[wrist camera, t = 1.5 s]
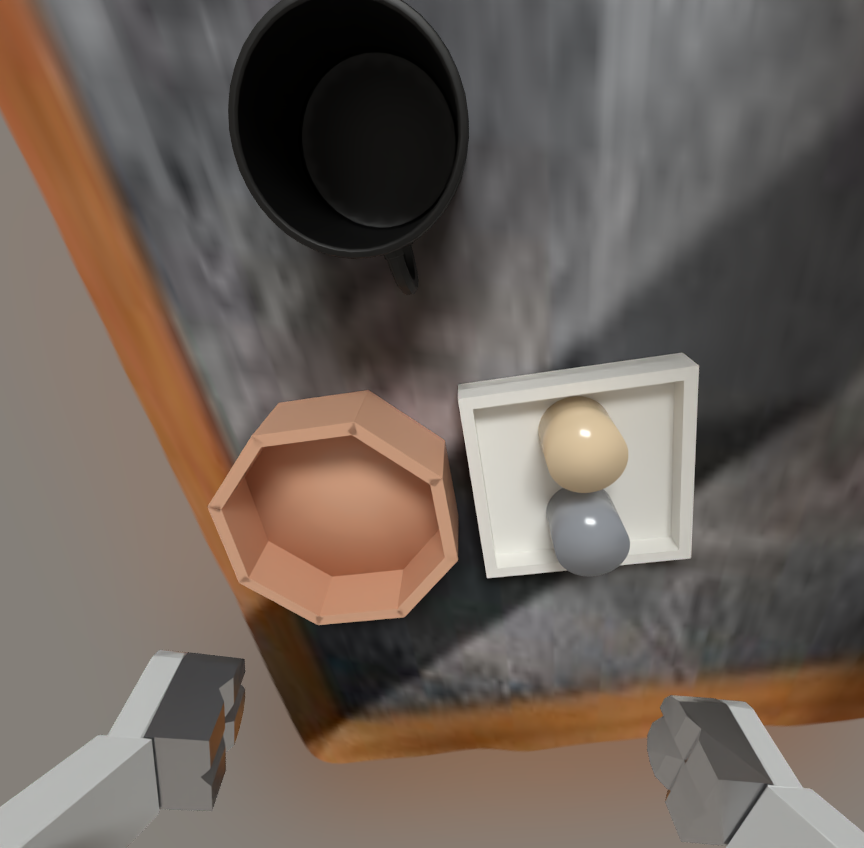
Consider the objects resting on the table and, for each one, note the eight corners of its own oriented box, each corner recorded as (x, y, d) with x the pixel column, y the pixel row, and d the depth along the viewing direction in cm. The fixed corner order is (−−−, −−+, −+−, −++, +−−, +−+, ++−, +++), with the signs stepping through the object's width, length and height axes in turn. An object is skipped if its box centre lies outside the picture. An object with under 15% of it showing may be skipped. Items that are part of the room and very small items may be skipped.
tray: (682, 352, 32) (699, 365, 30) (677, 535, 38) (690, 558, 36) (458, 384, 34) (457, 399, 32) (485, 555, 40) (486, 578, 38)
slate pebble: (612, 478, 35) (629, 513, 32) (614, 534, 37) (630, 572, 34) (543, 486, 36) (552, 521, 32) (548, 541, 38) (557, 579, 34)
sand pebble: (609, 391, 33) (627, 417, 29) (611, 455, 35) (628, 488, 31) (534, 401, 33) (543, 428, 30) (541, 464, 35) (550, 497, 32)
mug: (345, 299, 32) (305, 341, 24) (266, 76, 27) (183, 33, 19) (495, 255, 31) (508, 284, 22) (439, 11, 26) (429, -65, 18)
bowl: (434, 380, 34) (429, 411, 30) (466, 562, 40) (467, 611, 36) (217, 411, 36) (182, 445, 31) (280, 581, 42) (258, 630, 37)
